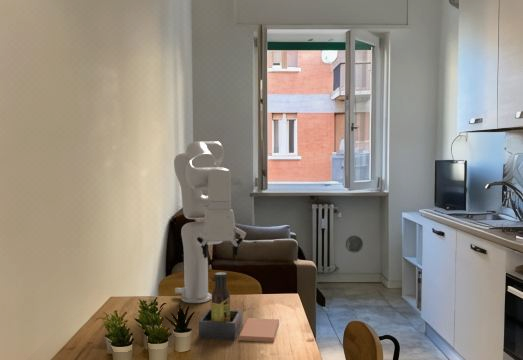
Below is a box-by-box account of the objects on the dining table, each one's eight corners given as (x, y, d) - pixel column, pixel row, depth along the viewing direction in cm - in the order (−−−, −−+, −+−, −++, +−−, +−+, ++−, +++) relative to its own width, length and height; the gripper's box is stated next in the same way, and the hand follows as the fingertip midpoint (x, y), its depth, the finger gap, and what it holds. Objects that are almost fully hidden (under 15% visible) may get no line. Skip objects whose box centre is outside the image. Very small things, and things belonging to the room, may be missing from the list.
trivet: (239, 340, 153) (239, 335, 153) (248, 322, 169) (248, 318, 169) (273, 342, 152) (273, 337, 152) (279, 323, 168) (279, 319, 167)
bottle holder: (198, 337, 155) (198, 321, 155) (208, 324, 167) (208, 309, 167) (235, 339, 154) (234, 323, 153) (241, 326, 165) (241, 310, 165)
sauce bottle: (227, 336, 157) (226, 276, 155) (209, 335, 158) (208, 275, 156) (232, 328, 163) (232, 271, 162) (214, 327, 164) (214, 270, 163)
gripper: (190, 207, 155) (191, 259, 156) (243, 207, 152) (244, 260, 153) (197, 204, 162) (198, 254, 163) (247, 204, 160) (248, 255, 161)
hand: (220, 257), depth 158 cm, fingers open, 9 cm apart
